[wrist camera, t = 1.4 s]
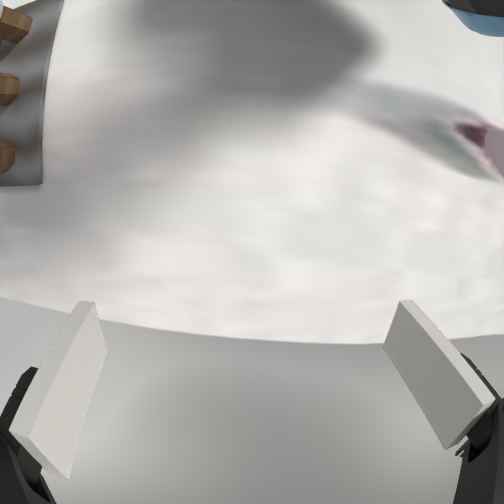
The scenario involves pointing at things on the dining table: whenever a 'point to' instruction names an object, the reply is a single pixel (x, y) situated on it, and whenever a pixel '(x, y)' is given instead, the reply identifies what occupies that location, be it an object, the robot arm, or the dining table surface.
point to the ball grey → (1, 8)
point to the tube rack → (24, 88)
